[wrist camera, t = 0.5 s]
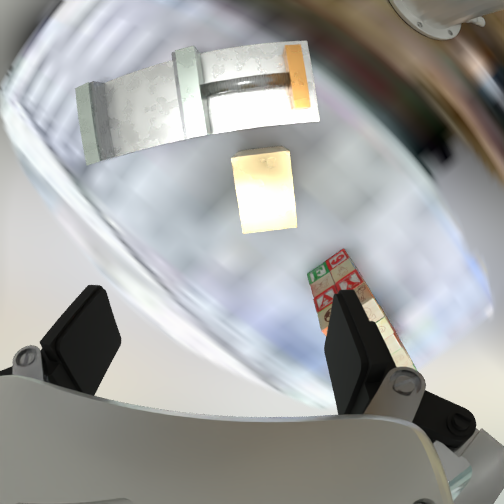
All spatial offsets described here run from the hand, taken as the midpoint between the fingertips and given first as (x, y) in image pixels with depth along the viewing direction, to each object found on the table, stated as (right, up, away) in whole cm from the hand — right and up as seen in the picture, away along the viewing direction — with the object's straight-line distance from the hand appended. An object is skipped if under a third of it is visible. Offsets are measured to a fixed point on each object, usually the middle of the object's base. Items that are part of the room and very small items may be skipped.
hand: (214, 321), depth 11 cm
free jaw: (0, +21, +16) cm, 26 cm away
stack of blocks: (+18, -6, +30) cm, 35 cm away
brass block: (+3, +12, +22) cm, 25 cm away
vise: (-5, +21, +18) cm, 28 cm away
